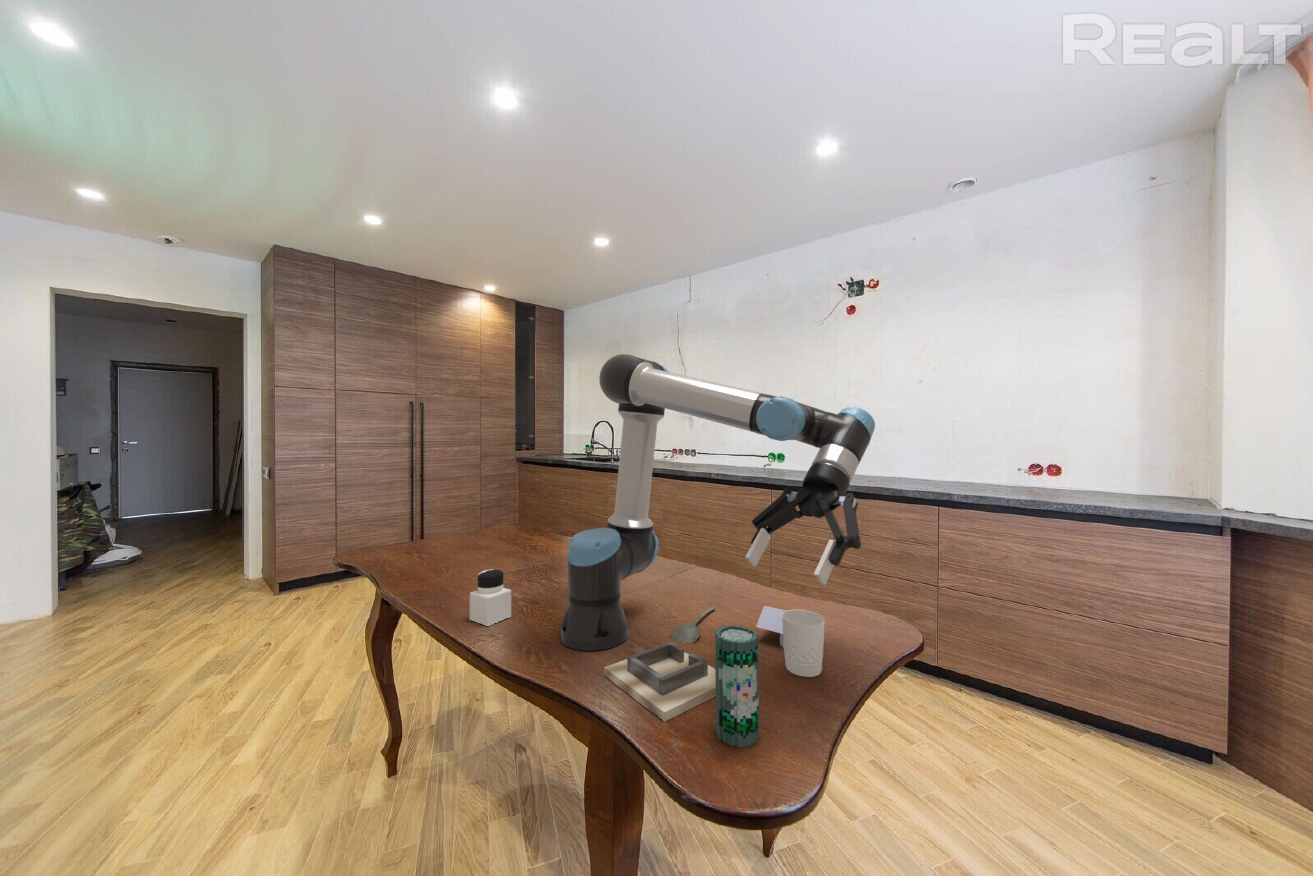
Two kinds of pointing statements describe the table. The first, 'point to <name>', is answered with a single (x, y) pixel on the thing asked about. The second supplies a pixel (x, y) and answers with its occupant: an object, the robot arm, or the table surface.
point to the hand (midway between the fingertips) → (782, 570)
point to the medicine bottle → (490, 599)
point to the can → (737, 685)
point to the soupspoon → (688, 630)
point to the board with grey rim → (665, 679)
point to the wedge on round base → (772, 621)
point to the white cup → (803, 642)
